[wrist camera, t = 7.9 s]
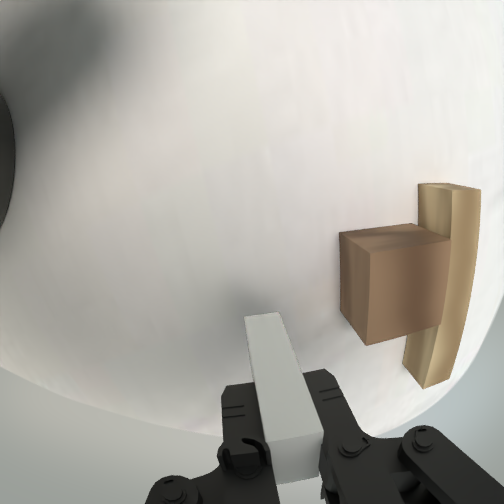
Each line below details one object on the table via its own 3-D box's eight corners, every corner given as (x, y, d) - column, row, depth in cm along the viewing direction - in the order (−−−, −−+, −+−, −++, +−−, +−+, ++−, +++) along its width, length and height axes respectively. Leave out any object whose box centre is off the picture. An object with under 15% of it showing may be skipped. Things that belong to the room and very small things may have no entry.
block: (339, 309, 22) (365, 346, 17) (338, 231, 20) (370, 253, 16) (406, 295, 22) (440, 324, 18) (410, 222, 21) (451, 239, 16)
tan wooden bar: (402, 363, 24) (422, 389, 20) (418, 183, 20) (452, 190, 16) (427, 355, 24) (449, 378, 21) (446, 182, 20) (480, 189, 16)
